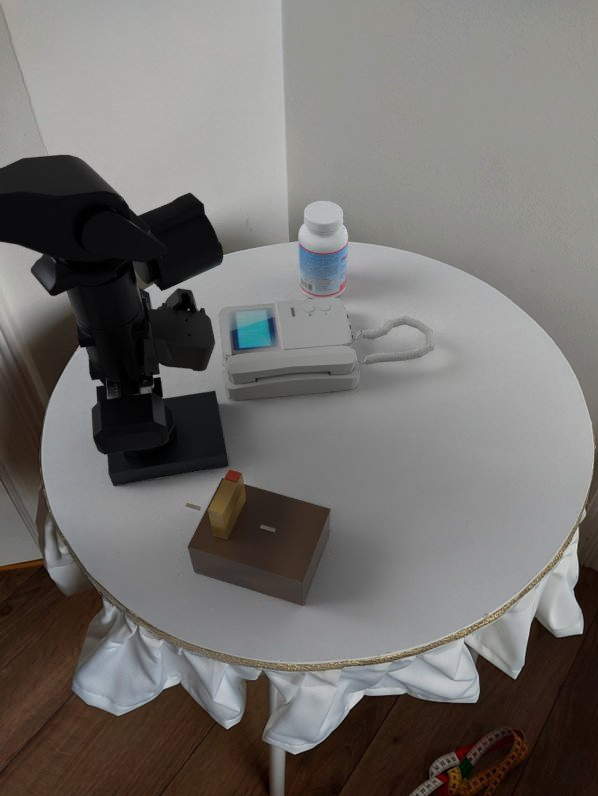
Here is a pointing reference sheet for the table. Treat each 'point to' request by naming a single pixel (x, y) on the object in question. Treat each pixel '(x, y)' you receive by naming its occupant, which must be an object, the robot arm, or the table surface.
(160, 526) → the table surface
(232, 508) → the block
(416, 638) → the table surface
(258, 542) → the brown box with slot
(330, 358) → the intercom
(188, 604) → the table surface
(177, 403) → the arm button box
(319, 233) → the pill bottle
